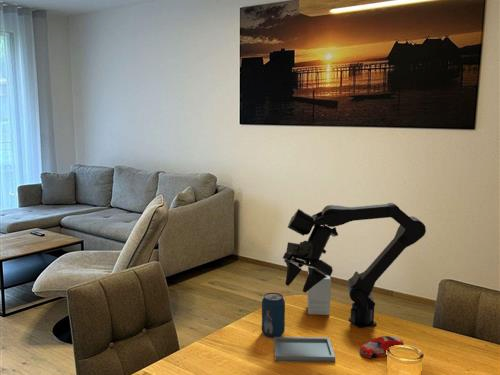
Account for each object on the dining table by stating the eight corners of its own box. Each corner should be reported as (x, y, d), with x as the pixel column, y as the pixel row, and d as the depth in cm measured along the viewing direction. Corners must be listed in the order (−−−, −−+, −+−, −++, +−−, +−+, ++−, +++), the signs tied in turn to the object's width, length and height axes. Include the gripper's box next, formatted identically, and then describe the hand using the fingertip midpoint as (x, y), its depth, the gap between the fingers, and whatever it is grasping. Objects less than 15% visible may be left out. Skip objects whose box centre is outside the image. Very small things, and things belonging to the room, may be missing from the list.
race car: (366, 361, 124) (367, 348, 123) (355, 352, 129) (356, 338, 128) (407, 353, 128) (408, 340, 127) (395, 344, 133) (395, 331, 132)
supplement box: (328, 306, 159) (329, 271, 157) (330, 315, 152) (331, 279, 150) (306, 305, 160) (307, 270, 158) (307, 314, 153) (308, 278, 151)
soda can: (283, 328, 142) (283, 291, 140) (285, 339, 135) (286, 300, 134) (260, 328, 142) (261, 291, 140) (262, 339, 135) (262, 300, 133)
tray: (328, 342, 134) (328, 337, 133) (335, 362, 123) (335, 356, 123) (273, 341, 134) (273, 336, 134) (275, 361, 123) (275, 356, 123)
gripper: (281, 227, 148) (260, 271, 144) (317, 234, 131) (293, 284, 128) (306, 243, 152) (285, 286, 149) (343, 251, 136) (320, 300, 133)
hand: (295, 288), depth 139 cm, fingers open, 9 cm apart
